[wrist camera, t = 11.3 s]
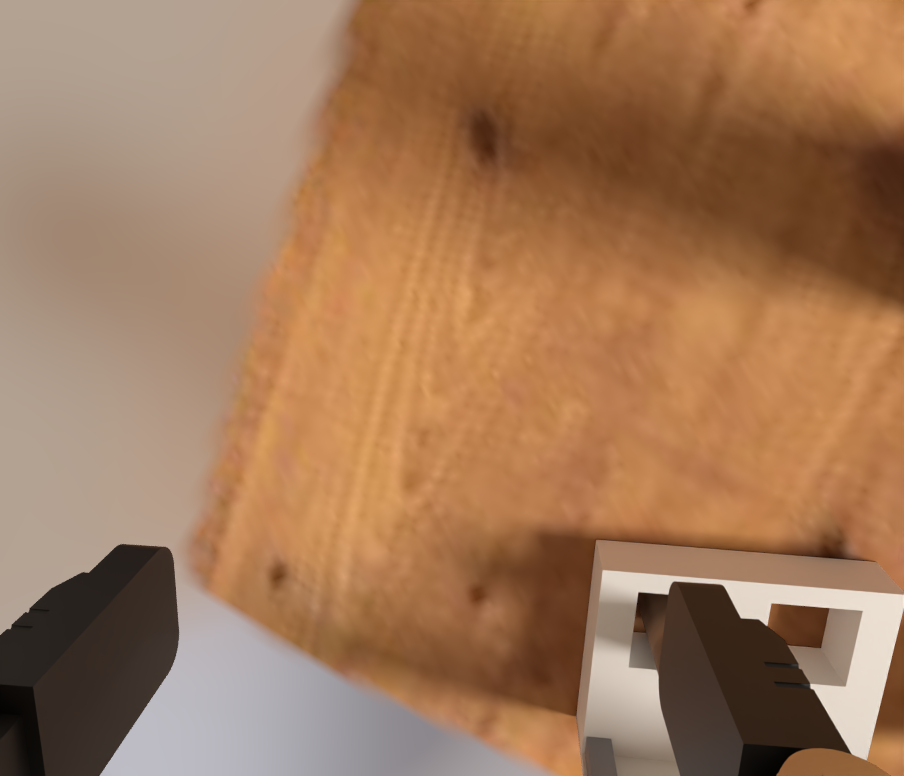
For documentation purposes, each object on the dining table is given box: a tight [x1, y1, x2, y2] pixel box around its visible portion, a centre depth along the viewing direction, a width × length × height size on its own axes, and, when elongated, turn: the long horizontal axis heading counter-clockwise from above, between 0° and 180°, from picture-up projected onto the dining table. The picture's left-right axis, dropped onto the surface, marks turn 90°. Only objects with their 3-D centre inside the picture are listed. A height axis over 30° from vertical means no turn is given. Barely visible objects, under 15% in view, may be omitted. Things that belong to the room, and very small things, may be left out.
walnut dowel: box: [638, 592, 668, 676], centre depth 45 cm, size 4×4×12 cm
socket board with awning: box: [576, 540, 904, 776], centre depth 41 cm, size 18×14×23 cm
